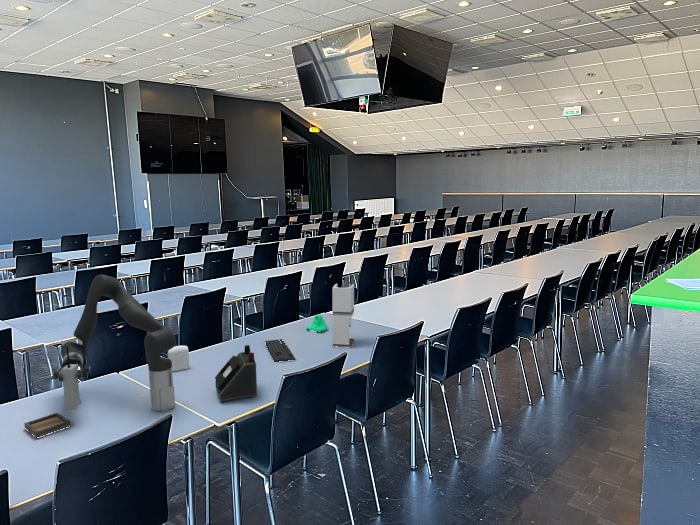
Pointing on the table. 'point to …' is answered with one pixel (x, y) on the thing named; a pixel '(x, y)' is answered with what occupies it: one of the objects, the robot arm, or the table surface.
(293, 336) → the table surface
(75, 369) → the vintage mobile phone
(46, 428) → the brown square tray
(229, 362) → the voltmeter
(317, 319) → the green draped cloth
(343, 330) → the tall grey pillar
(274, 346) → the keyboard
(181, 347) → the photo printer
